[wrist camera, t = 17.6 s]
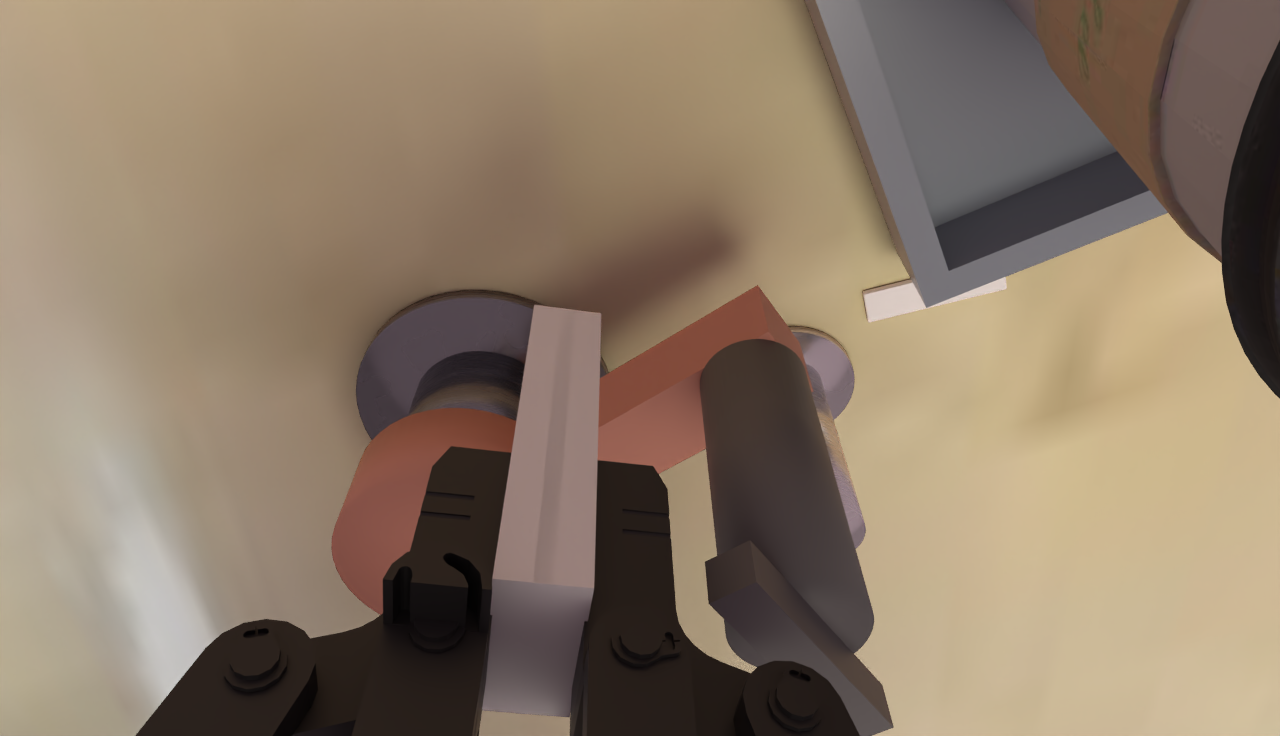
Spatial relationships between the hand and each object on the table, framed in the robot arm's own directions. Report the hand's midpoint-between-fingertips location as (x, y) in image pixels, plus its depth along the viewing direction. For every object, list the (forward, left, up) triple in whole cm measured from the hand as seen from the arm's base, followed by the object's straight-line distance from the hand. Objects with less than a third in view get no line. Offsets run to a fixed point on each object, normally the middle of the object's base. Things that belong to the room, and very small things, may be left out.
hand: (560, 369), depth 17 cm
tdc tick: (+8, -7, -8) cm, 14 cm away
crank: (-3, -4, -4) cm, 7 cm away
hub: (-6, -5, -8) cm, 12 cm away
